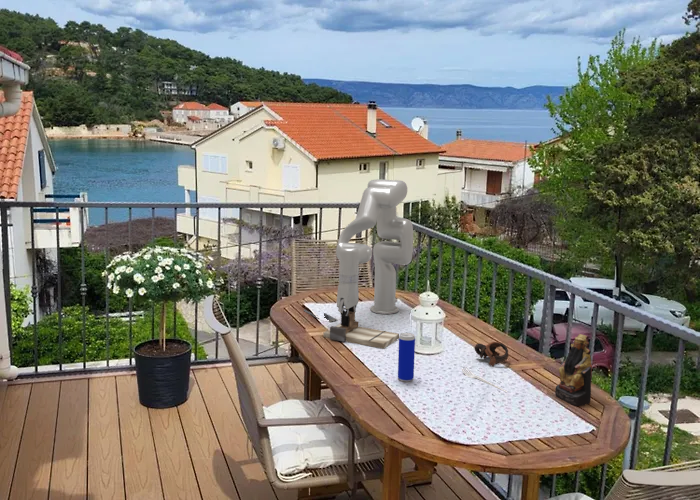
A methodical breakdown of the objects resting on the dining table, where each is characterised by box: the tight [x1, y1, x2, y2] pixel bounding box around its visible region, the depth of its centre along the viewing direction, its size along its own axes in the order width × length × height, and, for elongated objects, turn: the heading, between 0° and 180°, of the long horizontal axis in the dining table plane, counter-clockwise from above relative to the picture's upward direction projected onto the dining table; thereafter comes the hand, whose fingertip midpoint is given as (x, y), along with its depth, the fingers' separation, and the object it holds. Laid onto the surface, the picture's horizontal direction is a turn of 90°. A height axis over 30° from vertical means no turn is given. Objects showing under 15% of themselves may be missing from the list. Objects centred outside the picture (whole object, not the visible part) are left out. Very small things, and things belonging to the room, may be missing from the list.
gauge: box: [329, 310, 359, 343], centre depth 248 cm, size 15×6×9 cm, turn 151°
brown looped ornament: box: [473, 341, 510, 367], centre depth 223 cm, size 12×10×8 cm
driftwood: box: [303, 309, 338, 323], centre depth 276 cm, size 21×7×2 cm, turn 30°
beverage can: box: [397, 332, 416, 383], centre depth 205 cm, size 5×5×15 cm
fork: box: [461, 366, 509, 393], centre depth 205 cm, size 3×20×2 cm, turn 33°
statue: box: [554, 333, 593, 407], centre depth 190 cm, size 12×8×20 cm, turn 20°
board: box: [322, 323, 400, 349], centre depth 247 cm, size 14×26×2 cm, turn 61°
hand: (348, 323), depth 249 cm, fingers closed on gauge, 4 cm apart
